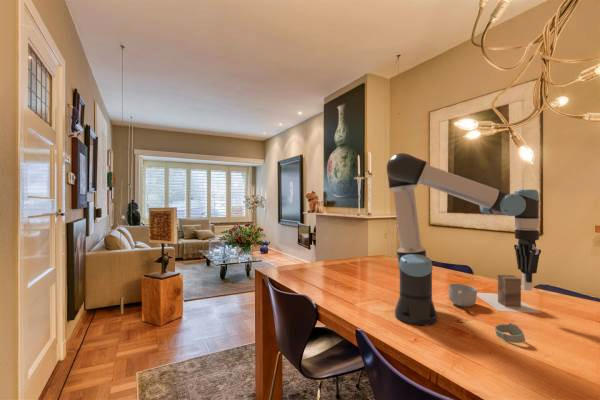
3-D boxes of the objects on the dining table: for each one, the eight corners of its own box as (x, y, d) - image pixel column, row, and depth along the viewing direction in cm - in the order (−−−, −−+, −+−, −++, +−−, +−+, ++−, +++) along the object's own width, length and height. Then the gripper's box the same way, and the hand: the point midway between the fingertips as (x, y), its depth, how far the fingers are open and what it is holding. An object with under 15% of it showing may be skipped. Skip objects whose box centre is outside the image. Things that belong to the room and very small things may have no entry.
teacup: (453, 299, 138) (453, 281, 138) (480, 305, 131) (480, 286, 130) (442, 306, 128) (442, 287, 128) (470, 313, 121) (470, 293, 121)
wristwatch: (530, 344, 95) (530, 329, 95) (513, 347, 94) (513, 331, 94) (504, 332, 104) (504, 317, 104) (489, 334, 103) (489, 319, 103)
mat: (542, 314, 120) (542, 312, 120) (498, 312, 122) (498, 310, 122) (508, 295, 144) (508, 293, 144) (472, 293, 146) (472, 292, 146)
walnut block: (520, 307, 126) (520, 278, 126) (505, 307, 126) (505, 278, 126) (512, 302, 132) (512, 275, 132) (497, 302, 132) (497, 274, 132)
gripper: (548, 231, 110) (549, 295, 110) (526, 227, 123) (527, 285, 123) (526, 230, 111) (527, 294, 111) (506, 227, 124) (507, 284, 124)
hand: (527, 289), depth 117 cm, fingers closed
